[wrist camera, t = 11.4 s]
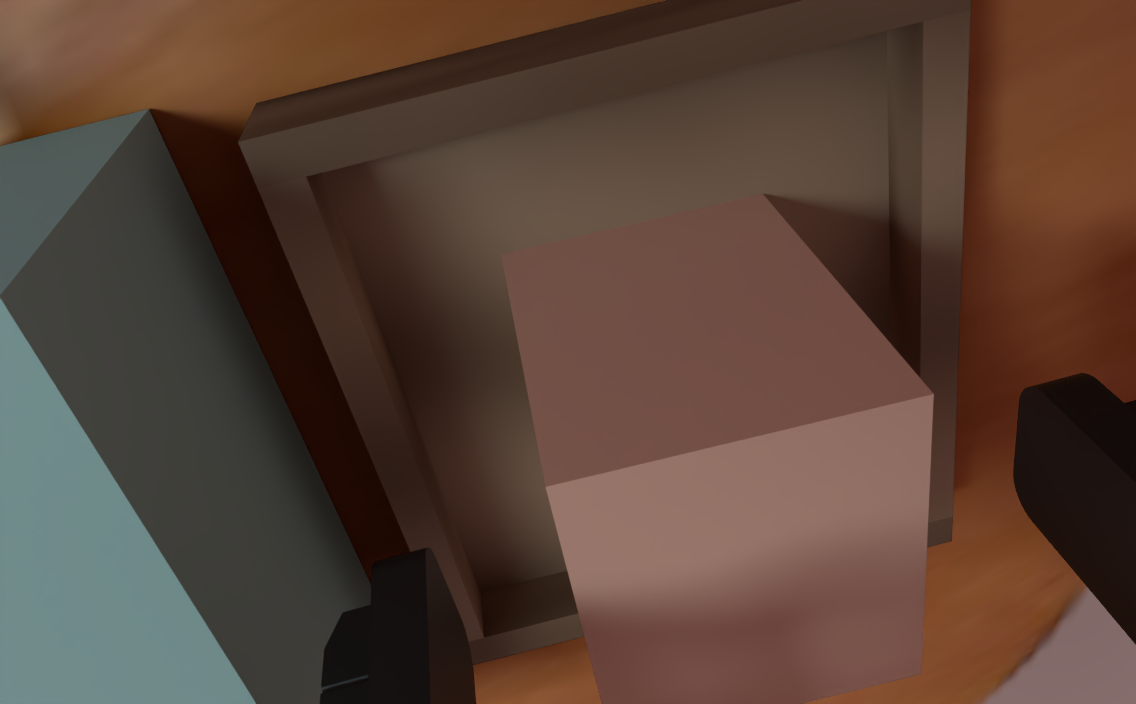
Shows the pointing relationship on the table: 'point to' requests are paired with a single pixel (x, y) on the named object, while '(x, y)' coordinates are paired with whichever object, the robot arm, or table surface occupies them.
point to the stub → (725, 460)
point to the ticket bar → (146, 450)
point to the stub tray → (596, 203)
